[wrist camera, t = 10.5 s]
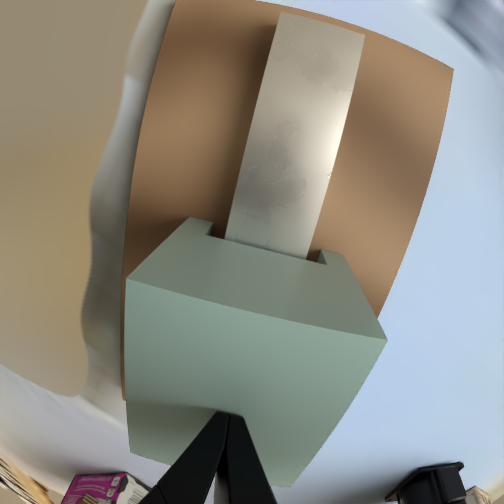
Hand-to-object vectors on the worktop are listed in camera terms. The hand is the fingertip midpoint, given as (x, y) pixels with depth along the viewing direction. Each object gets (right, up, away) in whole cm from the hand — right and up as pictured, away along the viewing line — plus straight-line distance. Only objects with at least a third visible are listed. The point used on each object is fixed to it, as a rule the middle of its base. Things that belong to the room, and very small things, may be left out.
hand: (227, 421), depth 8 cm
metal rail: (+1, +5, +6) cm, 7 cm away
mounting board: (+1, +5, +6) cm, 7 cm away
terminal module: (0, +2, +6) cm, 6 cm away
